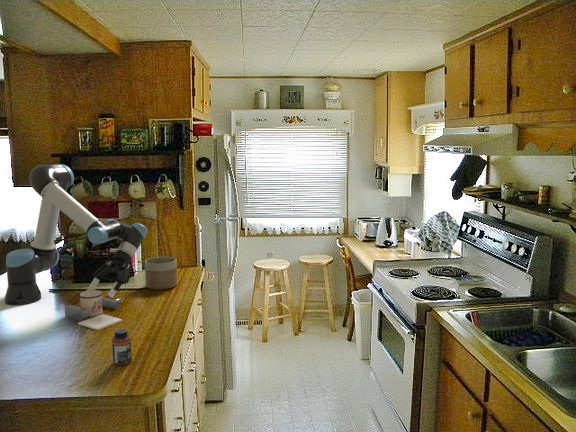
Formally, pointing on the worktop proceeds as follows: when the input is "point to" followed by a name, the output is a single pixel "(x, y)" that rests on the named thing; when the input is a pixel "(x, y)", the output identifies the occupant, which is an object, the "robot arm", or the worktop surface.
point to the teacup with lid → (92, 301)
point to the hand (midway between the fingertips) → (99, 294)
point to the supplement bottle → (121, 348)
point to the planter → (161, 273)
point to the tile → (99, 322)
